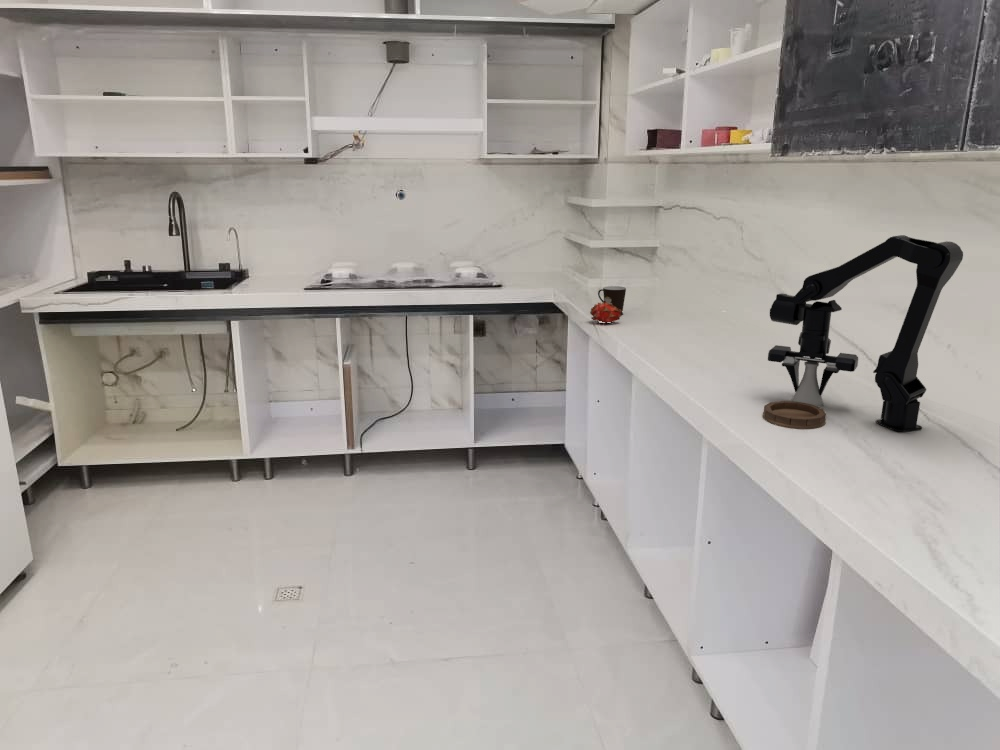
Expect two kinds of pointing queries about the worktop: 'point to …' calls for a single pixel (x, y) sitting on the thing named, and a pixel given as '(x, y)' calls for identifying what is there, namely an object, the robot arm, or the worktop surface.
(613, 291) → the coffee mug
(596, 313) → the dragon fruit
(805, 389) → the flask
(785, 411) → the round wooden tray
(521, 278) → the worktop surface
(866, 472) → the worktop surface
